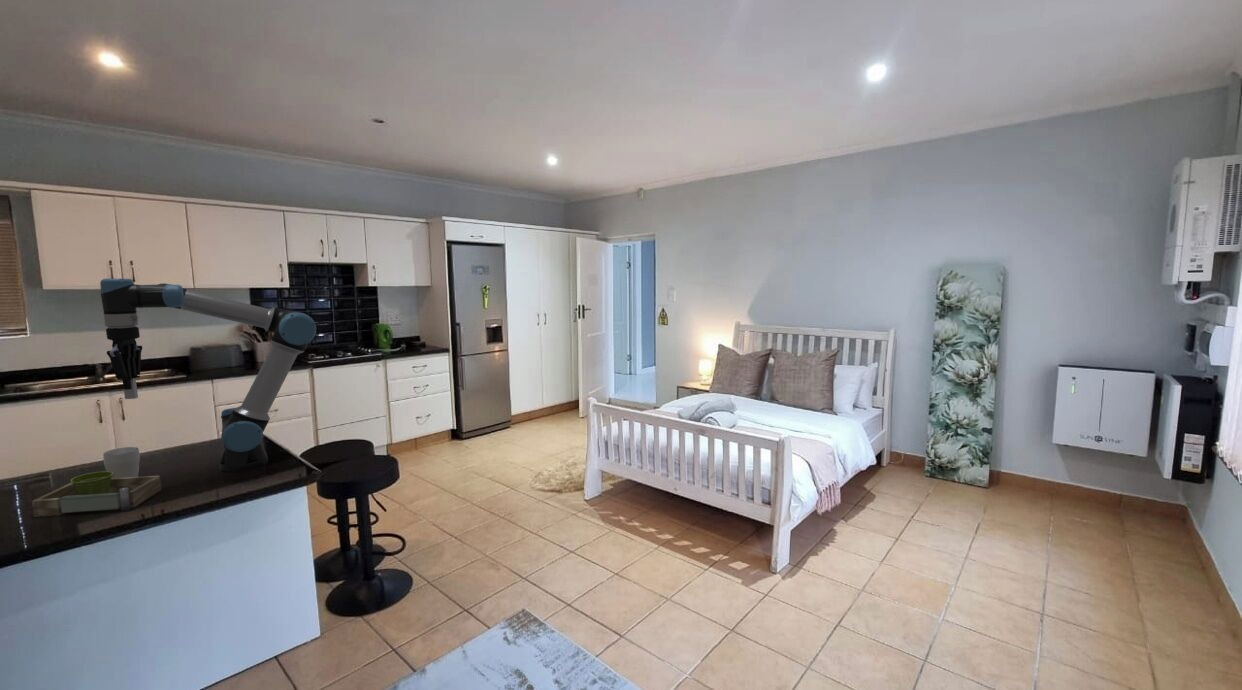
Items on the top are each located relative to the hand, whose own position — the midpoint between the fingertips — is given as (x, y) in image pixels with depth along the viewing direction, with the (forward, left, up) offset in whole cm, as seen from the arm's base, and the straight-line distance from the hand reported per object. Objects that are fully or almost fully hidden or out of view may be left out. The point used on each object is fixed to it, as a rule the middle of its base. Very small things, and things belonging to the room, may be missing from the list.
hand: (131, 398), depth 163 cm
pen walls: (+8, +5, -33) cm, 34 cm away
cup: (+11, -11, -33) cm, 36 cm away
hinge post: (-3, +12, -33) cm, 35 cm away
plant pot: (+10, +4, -33) cm, 35 cm away
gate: (+5, +13, -32) cm, 35 cm away
